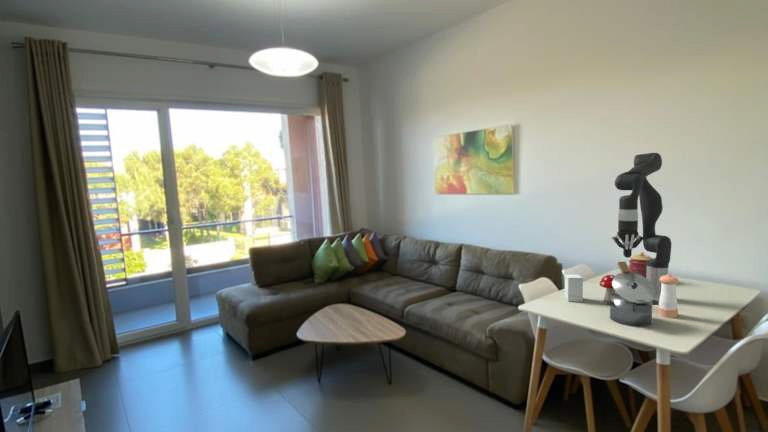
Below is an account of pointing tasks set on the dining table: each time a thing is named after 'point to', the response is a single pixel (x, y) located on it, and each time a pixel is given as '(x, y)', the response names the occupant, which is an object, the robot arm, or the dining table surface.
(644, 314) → the cooker pot
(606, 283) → the decorative mushroom
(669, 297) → the pepper shaker
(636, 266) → the canister
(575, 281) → the supplement box
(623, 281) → the cooker lid
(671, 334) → the dining table surface
